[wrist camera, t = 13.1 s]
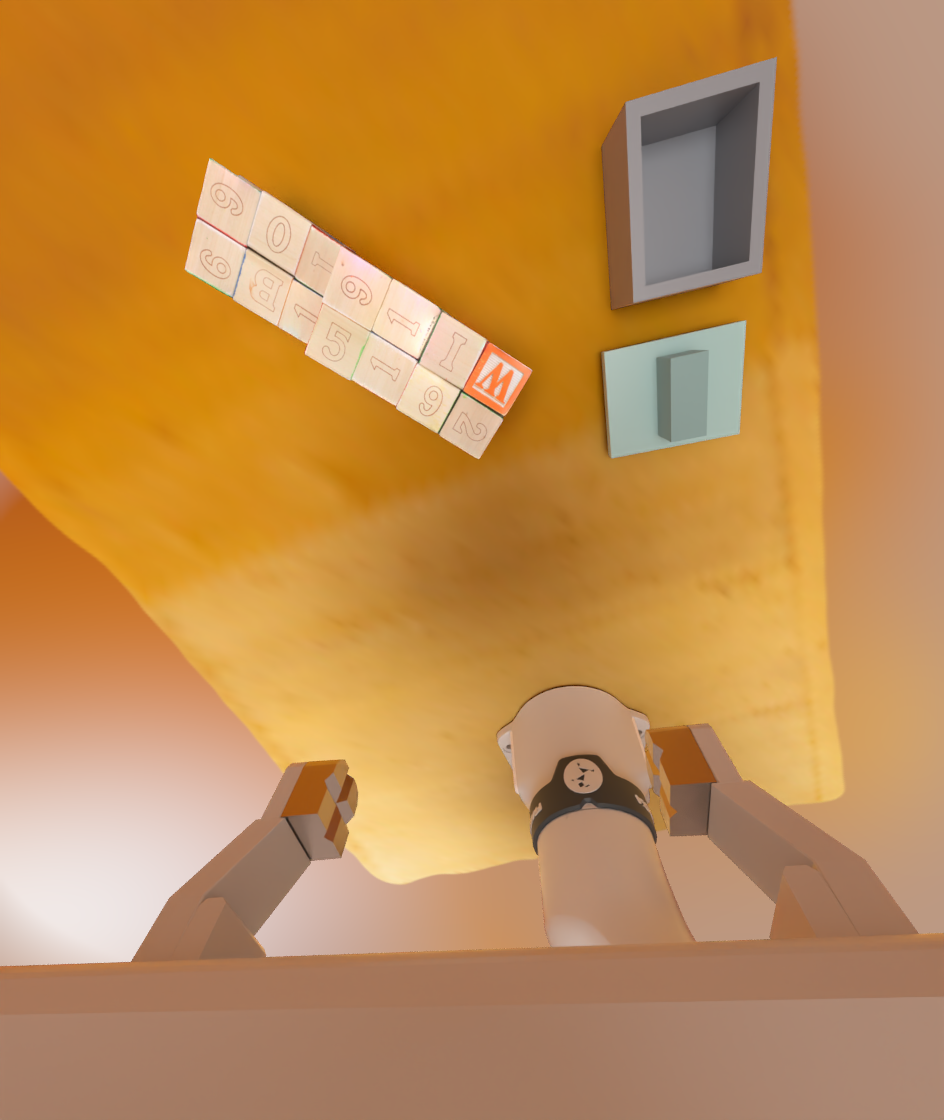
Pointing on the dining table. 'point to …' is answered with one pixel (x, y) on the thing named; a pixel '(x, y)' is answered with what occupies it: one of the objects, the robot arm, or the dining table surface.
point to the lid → (674, 390)
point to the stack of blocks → (351, 312)
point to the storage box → (688, 185)
